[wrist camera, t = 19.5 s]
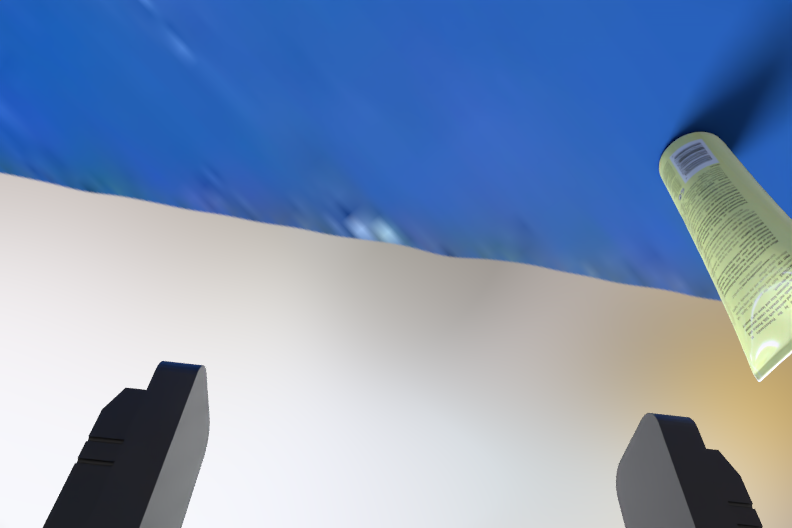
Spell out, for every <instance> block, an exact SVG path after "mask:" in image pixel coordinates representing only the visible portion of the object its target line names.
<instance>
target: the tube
mask: <svg viewBox="0 0 792 528" xmlns="http://www.w3.org/2000/svg"><path fill="white" fill-rule="evenodd" d="M659 172H660V175H661V178H662V180H663V182H664V183H665V185H666V187H667V189H668V191H669V193H670V195H671V197H672V199H673V201H674V203H675V205H676V207H677V209H678V210H679V212H680V214H681V216H682V218H683V220H684V222H685V224H686V226H687V228H688V230H689V232H690V234H691V236H692V238H693V240H694V243H695V245H696V247H697V249H698V251H699V253H700V255H701V257H702V259H703V261H704V263H705V265H706V267H707V270H708V272H709V274H710V276H711V278H712V280H713V282H714V284H715V287H716V289H717V291H718V293H719V295H720V298H721V300H722V302H723V304H724V306H725V309H726V310H727V313H728V315H729V317H730V320H731V322H732V324H733V326H734V329H735V331H736V333H737V335H738V338H739V340H740V343H741V345H742V348H743V350H744V353H745V355H746V357H747V360H748V362H749V365H750V367H751V370H752V372H753V374H754V376H755V377H756V379H757V380H758V382H761V381H762V380H763V379H764V378H765V377H766V376H767V375H768V374H769V373H770V372H771V371H772V370H773V369H774V368H775V367H776V366H778V365H779V364H780V363H781V362H782V361H783V360H784V359H786V358H787V357H788V356H789V355H790V354H791V353H792V219H791V218H790V217H789V216H788V215H787V214H786V213H785V212H784V211H783V210H782V209H781V208H780V207H779V206H778V205H777V203H776V202H775V201H774V200H773V199H772V198H771V197H770V196H769V195H768V194H767V192H766V191H765V190H764V189H763V188H762V187H761V186H760V185H759V183H758V182H757V181H756V180H755V179H754V178H753V176H752V175H751V174H750V173H749V172H748V171H747V169H746V168H745V167H744V166H743V165H742V164H741V162H740V161H739V160H738V159H737V157H736V156H735V155H734V154H733V153H732V151H731V150H730V149H729V148H728V147H727V145H726V144H725V143H724V142H723V141H722V140H721V139H720V138H719V137H718V136H716V135H714V134H712V133H708V132H693V133H690V134H687V135H684V136H682V137H680V138H678V139H676V140H675V141H674V142H672V143H671V144H670V145H669V146H668V147H667V149H666V150H665V151H664V153H663V155H662V156H661V159H660V163H659Z"/></svg>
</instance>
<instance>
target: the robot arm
mask: <svg viewBox="0 0 792 528" xmlns="http://www.w3.org/2000/svg"><path fill="white" fill-rule="evenodd" d="M209 423H210V421H209V406H208V391H207V377H206V369H205V366H203V365H194V364H184V363H175V362H167V361H162V362H160V363H159V365H158V366H157V368H156V370H155V372H154V375H153V377H152V379H151V381H150V384H149V386H148V388H147V390H142V389H133V388H125V389H124V390H123V391H122V392H121V393H120V394H118V395H117V396H116V397H115V398H114V399H113V400H112V401H111V402H110V403H109V404H108V405H107V406H105V407H104V408H103V409H102V411H101V413H100V415H99V417H98V419H97V421H96V423H95V425H94V427H93V429H92V431H91V433H90V435H89V439H88V441H86V443H85V445H84V447H83V449H82V451H81V453H80V455H79V456H78V461H77V463H76V464H75V465H74V466H73V468H72V470H71V473H70V474H69V476H68V478H67V481H66V482H65V484H64V486H63V488H62V490H61V492H60V494H59V496H58V498H57V501H56V503H55V504H54V507H53V509H52V510H51V512H50V514H49V516H48V518H47V520H46V522H45V524H44V526H43V528H181V527H182V523H183V520H184V517H185V514H186V511H187V508H188V504H189V501H190V498H191V495H192V492H193V489H194V486H195V483H196V480H197V476H198V474H199V470H200V467H201V464H202V461H203V458H204V455H205V451H206V447H207V441H208V435H209ZM616 490H617V496H618V500H619V504H620V508H621V512H622V516H623V520H624V523H625V527H626V528H762V524H761V522H760V519H759V517H758V515H757V513H756V511H755V509H753V508H752V504H753V503H752V501H751V499H750V497H749V495H748V492H747V490H746V488H745V485H744V483H743V481H742V479H741V476H740V475H739V474H738V473H737V471H736V470H735V469H734V468H733V467H732V466H731V464H730V463H729V462H728V461H727V460H726V459H725V457H724V456H723V455H722V454H721V453H720V452H719V450H712V449H706V448H705V445H704V443H703V440H702V438H701V435H700V433H699V430H698V428H697V426H696V424H695V422H694V421H693V420H692V419H691V418H688V417H680V416H671V415H662V414H653V413H647V414H646V415H645V416H644V417H643V418H642V420H641V422H640V423H639V425H638V427H637V430H636V431H635V433H634V435H633V437H632V439H631V441H630V443H629V445H628V447H627V449H626V451H625V453H624V455H623V457H622V459H621V461H620V463H619V466H618V469H617V476H616Z"/></svg>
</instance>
